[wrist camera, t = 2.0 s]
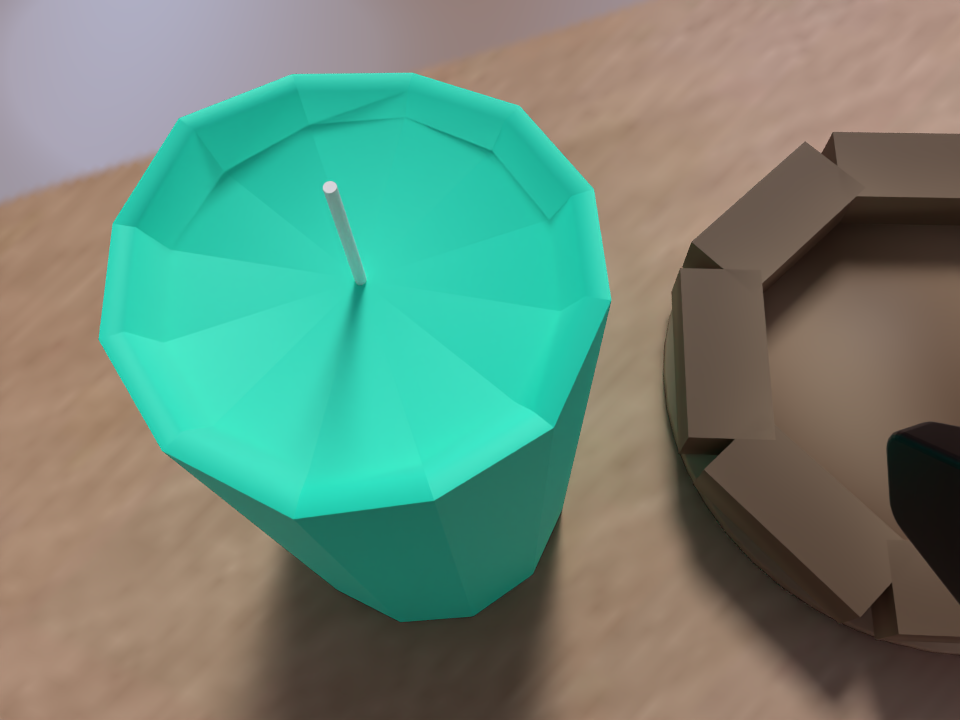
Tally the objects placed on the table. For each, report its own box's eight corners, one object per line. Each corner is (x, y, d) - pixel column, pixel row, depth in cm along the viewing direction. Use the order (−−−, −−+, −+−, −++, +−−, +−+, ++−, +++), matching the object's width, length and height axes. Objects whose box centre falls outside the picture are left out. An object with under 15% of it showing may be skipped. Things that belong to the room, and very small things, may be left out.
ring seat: (989, 790, 17) (1033, 795, 16) (556, 373, 21) (560, 346, 19) (1307, 394, 20) (1371, 367, 19) (878, 87, 24) (902, 44, 22)
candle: (242, 501, 20) (-90, 220, 9) (421, 316, 22) (327, -115, 11) (440, 686, 18) (334, 623, 7) (617, 471, 20) (750, 152, 9)
